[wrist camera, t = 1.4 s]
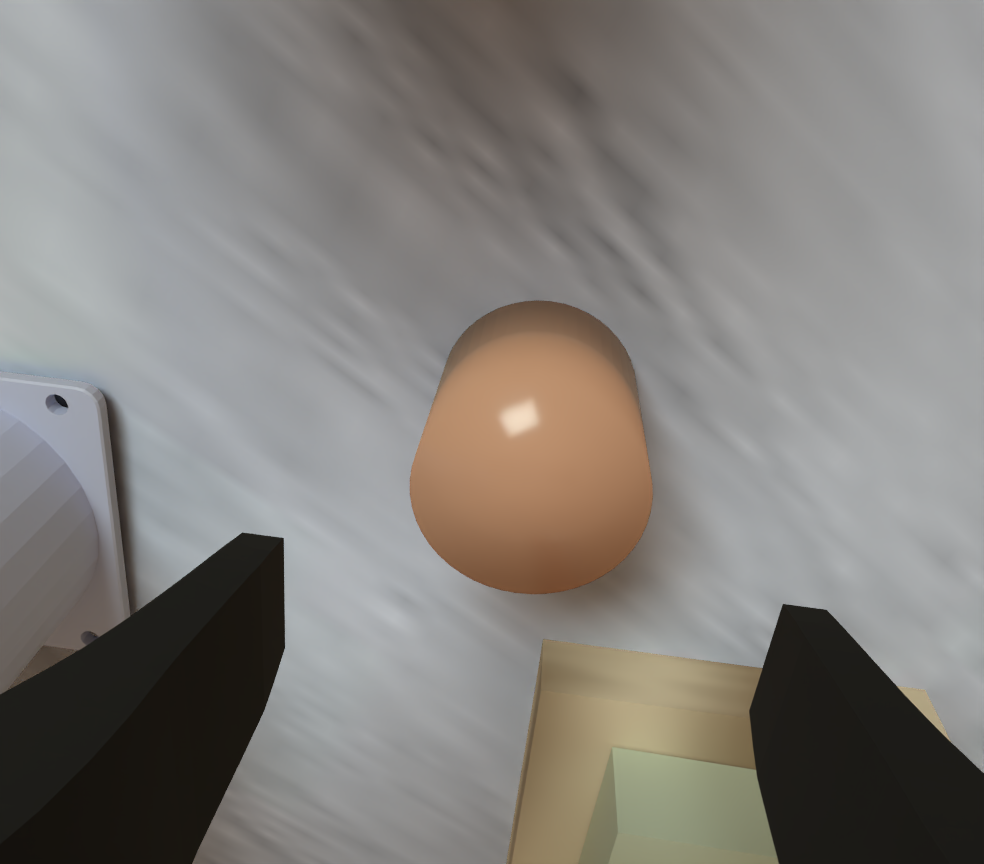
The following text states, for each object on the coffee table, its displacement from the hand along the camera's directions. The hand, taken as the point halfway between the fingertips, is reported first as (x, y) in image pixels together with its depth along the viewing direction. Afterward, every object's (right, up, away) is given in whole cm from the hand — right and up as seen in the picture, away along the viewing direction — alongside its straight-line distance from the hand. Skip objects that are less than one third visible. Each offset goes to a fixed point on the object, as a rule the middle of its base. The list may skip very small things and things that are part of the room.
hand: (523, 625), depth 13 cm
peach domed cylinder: (+1, +4, +7) cm, 8 cm away
